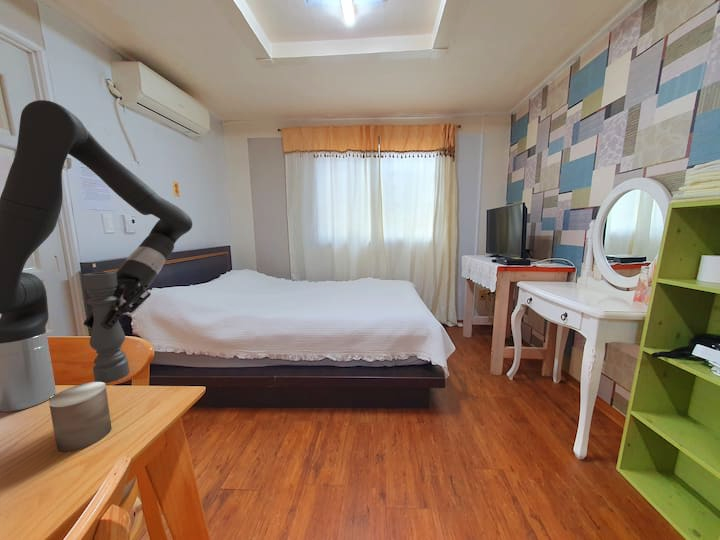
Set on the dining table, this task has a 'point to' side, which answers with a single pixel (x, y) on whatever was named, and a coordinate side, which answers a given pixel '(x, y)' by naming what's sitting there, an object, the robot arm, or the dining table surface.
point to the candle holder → (105, 340)
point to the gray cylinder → (80, 416)
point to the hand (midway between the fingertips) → (96, 326)
